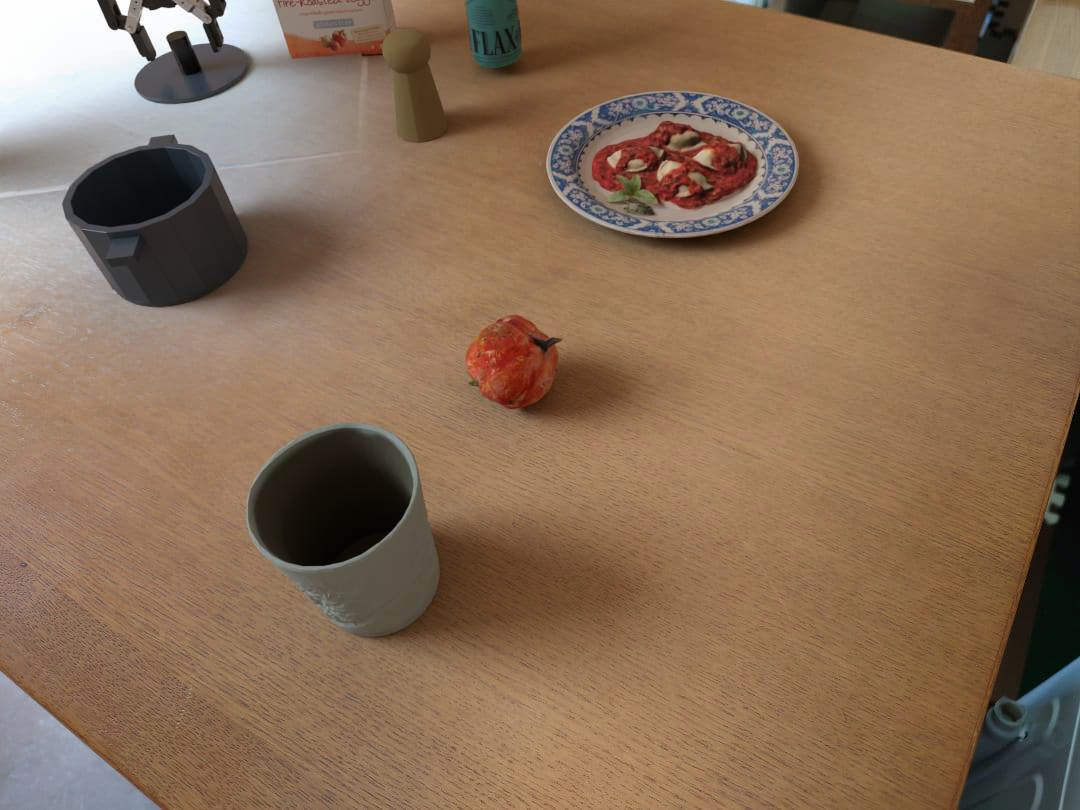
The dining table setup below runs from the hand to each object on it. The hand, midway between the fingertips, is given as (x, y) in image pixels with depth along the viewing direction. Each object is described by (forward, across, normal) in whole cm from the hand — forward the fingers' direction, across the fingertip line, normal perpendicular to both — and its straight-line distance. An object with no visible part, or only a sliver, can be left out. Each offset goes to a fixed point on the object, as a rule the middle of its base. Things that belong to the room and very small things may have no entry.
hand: (185, 54), depth 100 cm
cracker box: (+3, -20, -3) cm, 20 cm away
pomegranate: (+3, -37, +61) cm, 71 cm away
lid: (+3, 0, 0) cm, 3 cm away
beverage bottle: (+4, -40, +7) cm, 41 cm away
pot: (+3, -5, +38) cm, 38 cm away
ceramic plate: (+4, -56, +34) cm, 66 cm away
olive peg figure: (+3, -30, +19) cm, 36 cm away
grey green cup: (+3, -26, +77) cm, 81 cm away
